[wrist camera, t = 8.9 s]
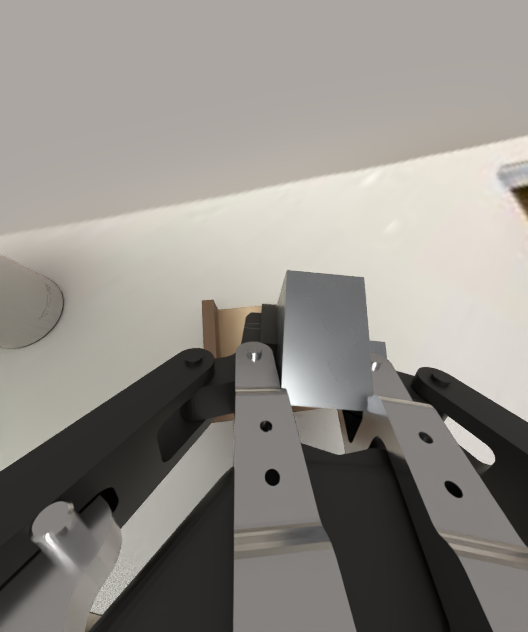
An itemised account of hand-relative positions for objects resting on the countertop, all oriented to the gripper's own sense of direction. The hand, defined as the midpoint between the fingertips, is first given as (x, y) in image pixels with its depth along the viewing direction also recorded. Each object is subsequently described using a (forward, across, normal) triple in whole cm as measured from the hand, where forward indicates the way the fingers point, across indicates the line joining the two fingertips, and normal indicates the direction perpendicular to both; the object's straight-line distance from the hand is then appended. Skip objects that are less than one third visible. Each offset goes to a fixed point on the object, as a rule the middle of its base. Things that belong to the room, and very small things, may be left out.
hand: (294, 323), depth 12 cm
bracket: (+1, -3, +4) cm, 5 cm away
